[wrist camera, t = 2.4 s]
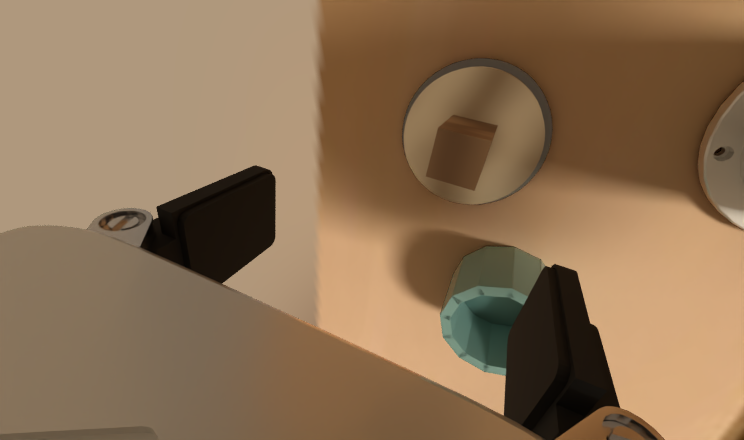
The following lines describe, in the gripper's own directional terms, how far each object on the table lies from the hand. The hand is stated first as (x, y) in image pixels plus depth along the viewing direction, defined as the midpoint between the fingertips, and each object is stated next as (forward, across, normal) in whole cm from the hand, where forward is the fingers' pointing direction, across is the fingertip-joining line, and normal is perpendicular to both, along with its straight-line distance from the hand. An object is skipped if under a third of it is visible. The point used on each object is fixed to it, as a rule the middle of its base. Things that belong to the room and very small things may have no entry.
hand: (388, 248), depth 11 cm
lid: (+17, 0, 0) cm, 17 cm away
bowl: (+18, -7, +12) cm, 23 cm away
